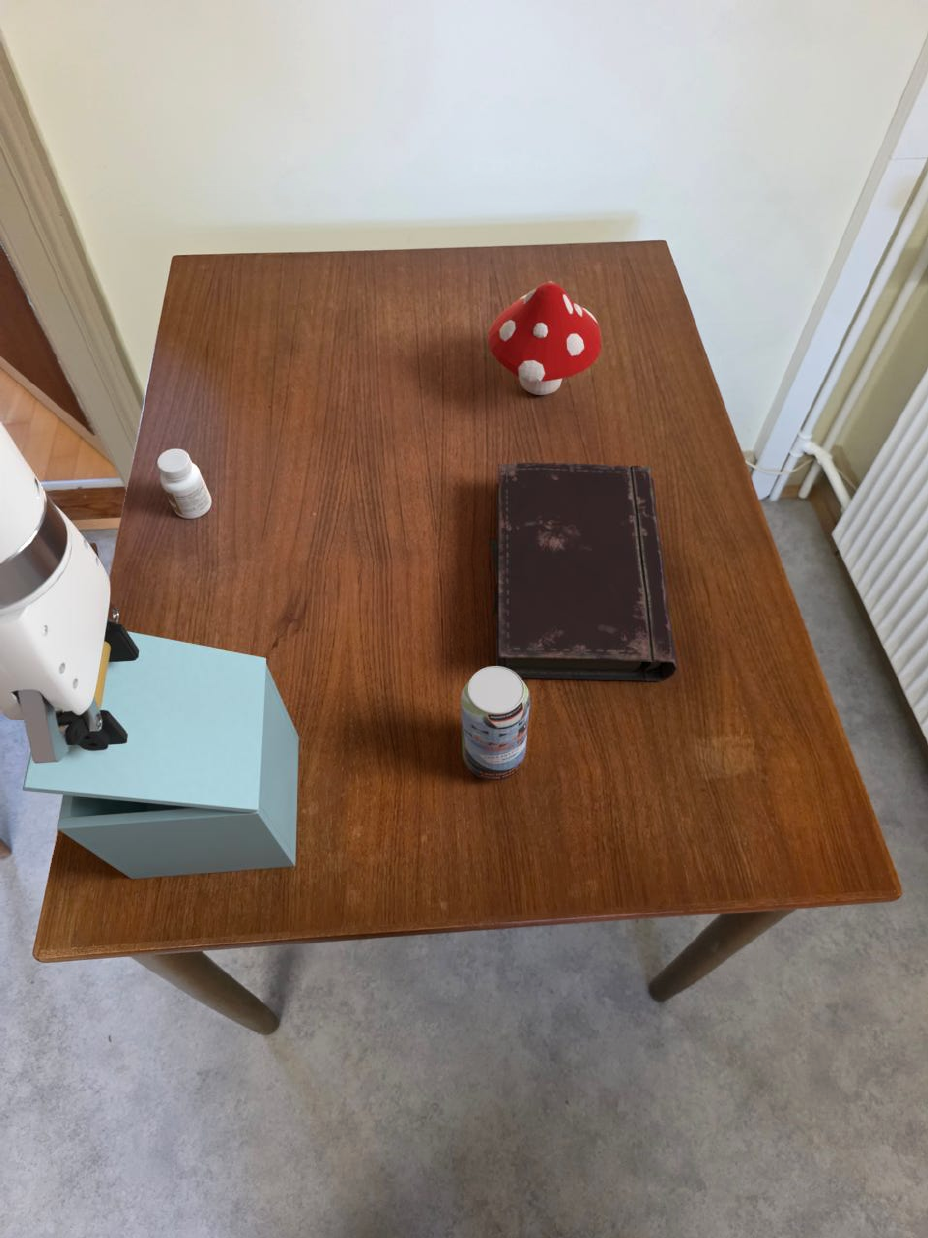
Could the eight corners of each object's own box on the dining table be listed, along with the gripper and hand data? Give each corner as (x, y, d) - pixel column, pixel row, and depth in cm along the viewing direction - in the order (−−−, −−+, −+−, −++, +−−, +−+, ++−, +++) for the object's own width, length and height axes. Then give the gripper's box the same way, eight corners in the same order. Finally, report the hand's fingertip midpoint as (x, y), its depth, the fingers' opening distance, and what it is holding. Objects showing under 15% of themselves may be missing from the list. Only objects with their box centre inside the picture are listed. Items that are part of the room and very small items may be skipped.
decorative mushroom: (564, 336, 109) (577, 234, 97) (615, 404, 103) (637, 304, 90) (469, 366, 106) (470, 265, 94) (515, 438, 100) (524, 339, 87)
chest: (131, 879, 73) (56, 828, 59) (148, 747, 79) (83, 674, 66) (295, 866, 73) (258, 813, 60) (298, 737, 80) (265, 662, 66)
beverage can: (471, 793, 77) (473, 745, 67) (451, 723, 81) (450, 668, 70) (534, 776, 78) (546, 726, 68) (512, 708, 81) (519, 651, 71)
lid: (22, 791, 52) (34, 762, 48) (56, 622, 59) (69, 586, 55) (255, 813, 60) (281, 790, 56) (263, 662, 66) (286, 632, 62)
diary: (647, 492, 96) (656, 463, 91) (670, 683, 83) (682, 660, 79) (489, 489, 96) (491, 460, 92) (488, 679, 83) (490, 656, 79)
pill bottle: (171, 495, 95) (150, 449, 89) (209, 486, 96) (190, 441, 89) (176, 524, 93) (154, 479, 86) (214, 515, 94) (196, 470, 87)
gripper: (-54, 418, 44) (75, 596, 60) (-149, 703, 36) (31, 825, 51) (86, 411, 45) (178, 590, 60) (27, 691, 36) (153, 816, 52)
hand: (110, 697), depth 56 cm, fingers closed on lid, 5 cm apart
